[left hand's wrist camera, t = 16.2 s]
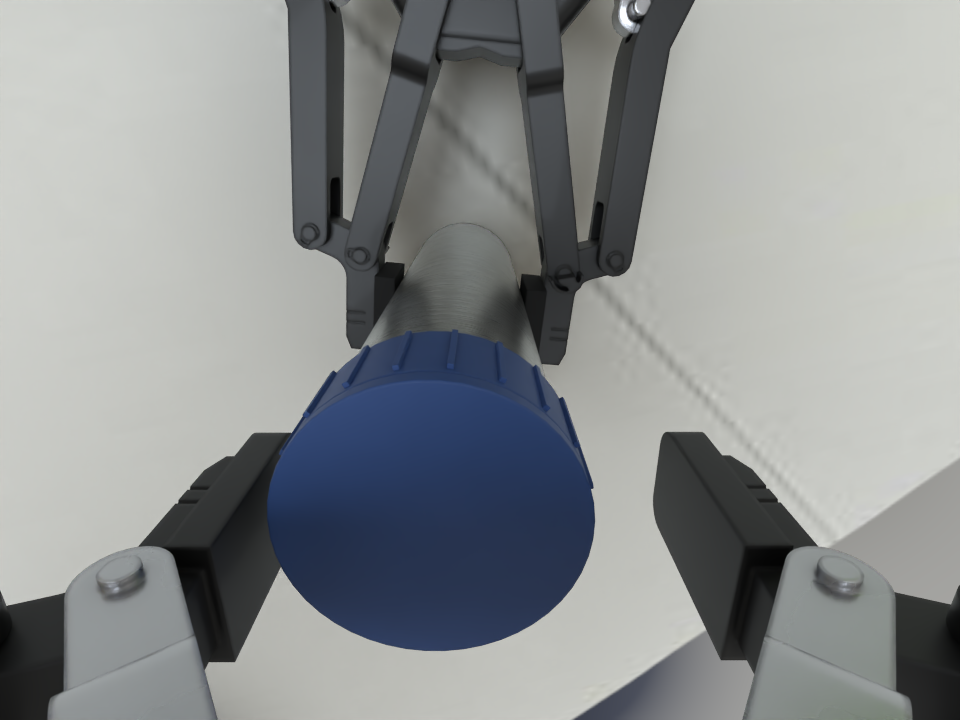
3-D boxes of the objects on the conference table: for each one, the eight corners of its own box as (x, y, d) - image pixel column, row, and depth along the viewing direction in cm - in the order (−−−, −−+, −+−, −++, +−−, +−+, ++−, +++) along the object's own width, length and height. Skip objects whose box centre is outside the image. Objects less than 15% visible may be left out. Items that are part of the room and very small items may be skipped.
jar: (453, 202, 26) (393, 316, 8) (532, 262, 27) (636, 483, 9) (397, 282, 28) (239, 532, 9) (474, 336, 29) (465, 655, 11)
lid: (260, 485, 11) (206, 566, 9) (395, 270, 10) (370, 305, 7) (476, 598, 12) (476, 695, 10) (630, 423, 11) (669, 493, 8)
